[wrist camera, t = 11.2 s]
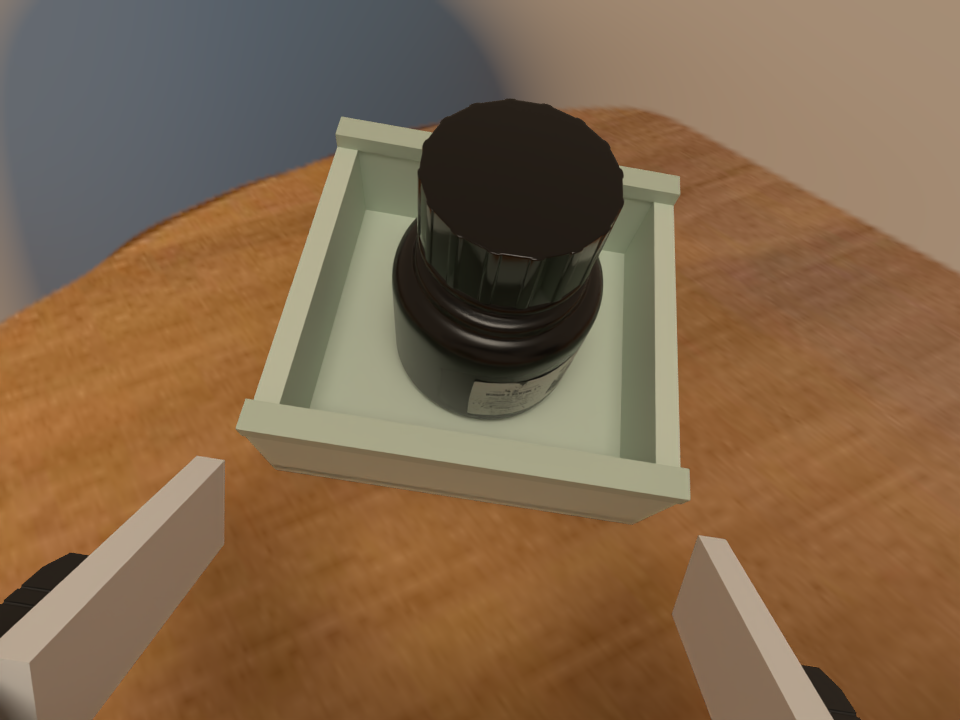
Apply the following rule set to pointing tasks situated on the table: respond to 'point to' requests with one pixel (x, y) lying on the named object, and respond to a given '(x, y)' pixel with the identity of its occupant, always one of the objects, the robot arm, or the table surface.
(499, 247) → the ink bottle
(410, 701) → the table surface
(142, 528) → the robot arm
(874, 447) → the table surface
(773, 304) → the table surface
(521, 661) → the table surface
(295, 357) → the tray
